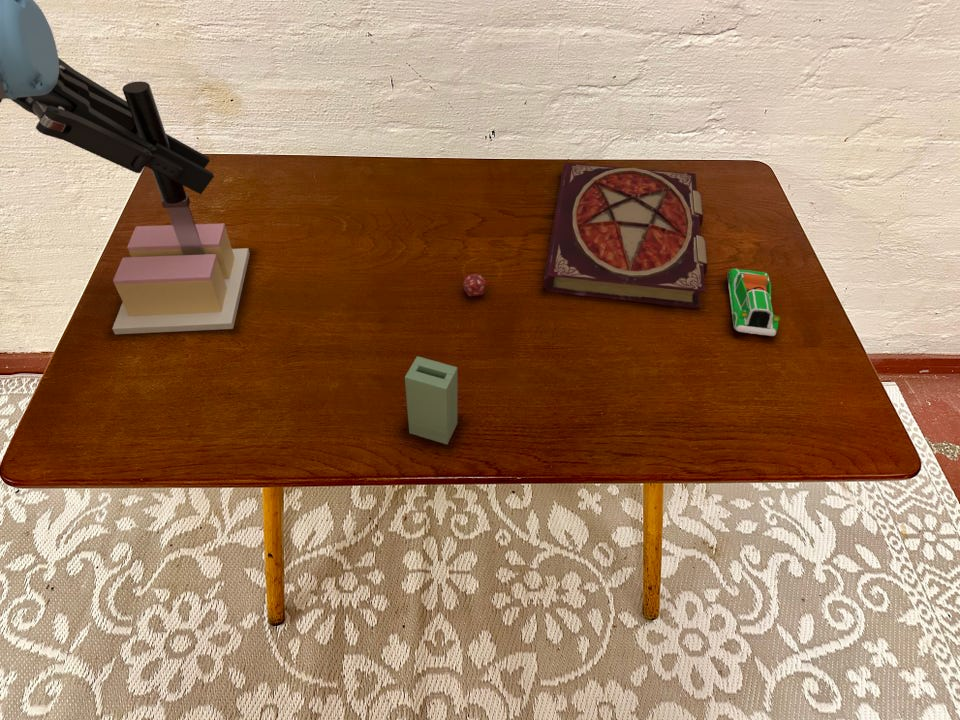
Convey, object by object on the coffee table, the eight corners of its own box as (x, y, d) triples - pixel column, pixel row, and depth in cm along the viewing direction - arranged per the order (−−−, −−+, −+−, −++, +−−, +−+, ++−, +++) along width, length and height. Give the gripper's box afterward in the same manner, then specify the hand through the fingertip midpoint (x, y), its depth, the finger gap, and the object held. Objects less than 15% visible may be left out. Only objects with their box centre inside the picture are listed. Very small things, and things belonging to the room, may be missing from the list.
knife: (214, 290, 87) (147, 92, 68) (191, 291, 87) (118, 92, 68) (217, 277, 89) (153, 81, 70) (195, 278, 89) (124, 81, 70)
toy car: (774, 343, 84) (786, 318, 81) (731, 338, 85) (742, 312, 82) (762, 282, 92) (773, 256, 89) (724, 277, 93) (733, 252, 90)
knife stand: (447, 444, 72) (446, 389, 66) (409, 433, 73) (404, 377, 67) (457, 423, 74) (457, 367, 68) (420, 412, 75) (417, 355, 69)
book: (561, 180, 110) (564, 152, 106) (695, 192, 107) (703, 163, 104) (542, 294, 91) (544, 264, 87) (705, 312, 88) (714, 282, 84)
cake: (233, 329, 84) (219, 287, 79) (114, 334, 83) (93, 293, 78) (250, 253, 94) (238, 213, 89) (144, 257, 93) (127, 217, 88)
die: (489, 296, 89) (490, 279, 87) (468, 303, 88) (469, 286, 86) (479, 283, 91) (479, 266, 89) (458, 290, 90) (458, 272, 88)
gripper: (-45, 46, 68) (180, 166, 84) (-65, 119, 58) (195, 239, 74) (-11, -18, 65) (213, 118, 82) (-26, 47, 55) (233, 187, 72)
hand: (204, 175), depth 78 cm, fingers open, 3 cm apart
